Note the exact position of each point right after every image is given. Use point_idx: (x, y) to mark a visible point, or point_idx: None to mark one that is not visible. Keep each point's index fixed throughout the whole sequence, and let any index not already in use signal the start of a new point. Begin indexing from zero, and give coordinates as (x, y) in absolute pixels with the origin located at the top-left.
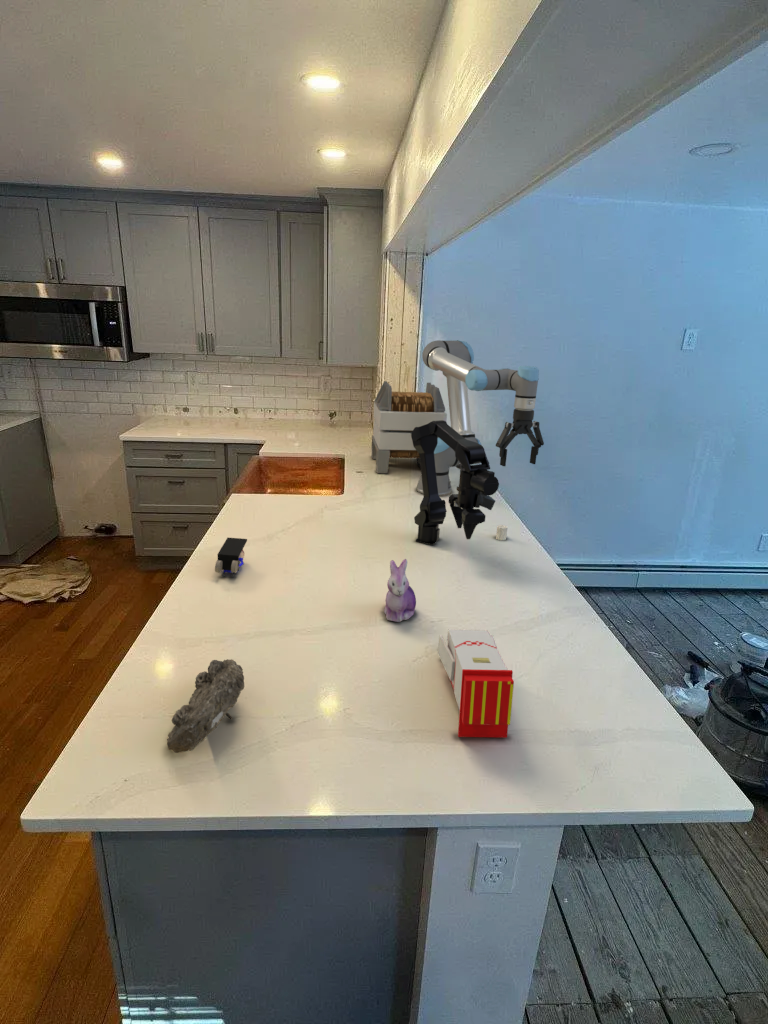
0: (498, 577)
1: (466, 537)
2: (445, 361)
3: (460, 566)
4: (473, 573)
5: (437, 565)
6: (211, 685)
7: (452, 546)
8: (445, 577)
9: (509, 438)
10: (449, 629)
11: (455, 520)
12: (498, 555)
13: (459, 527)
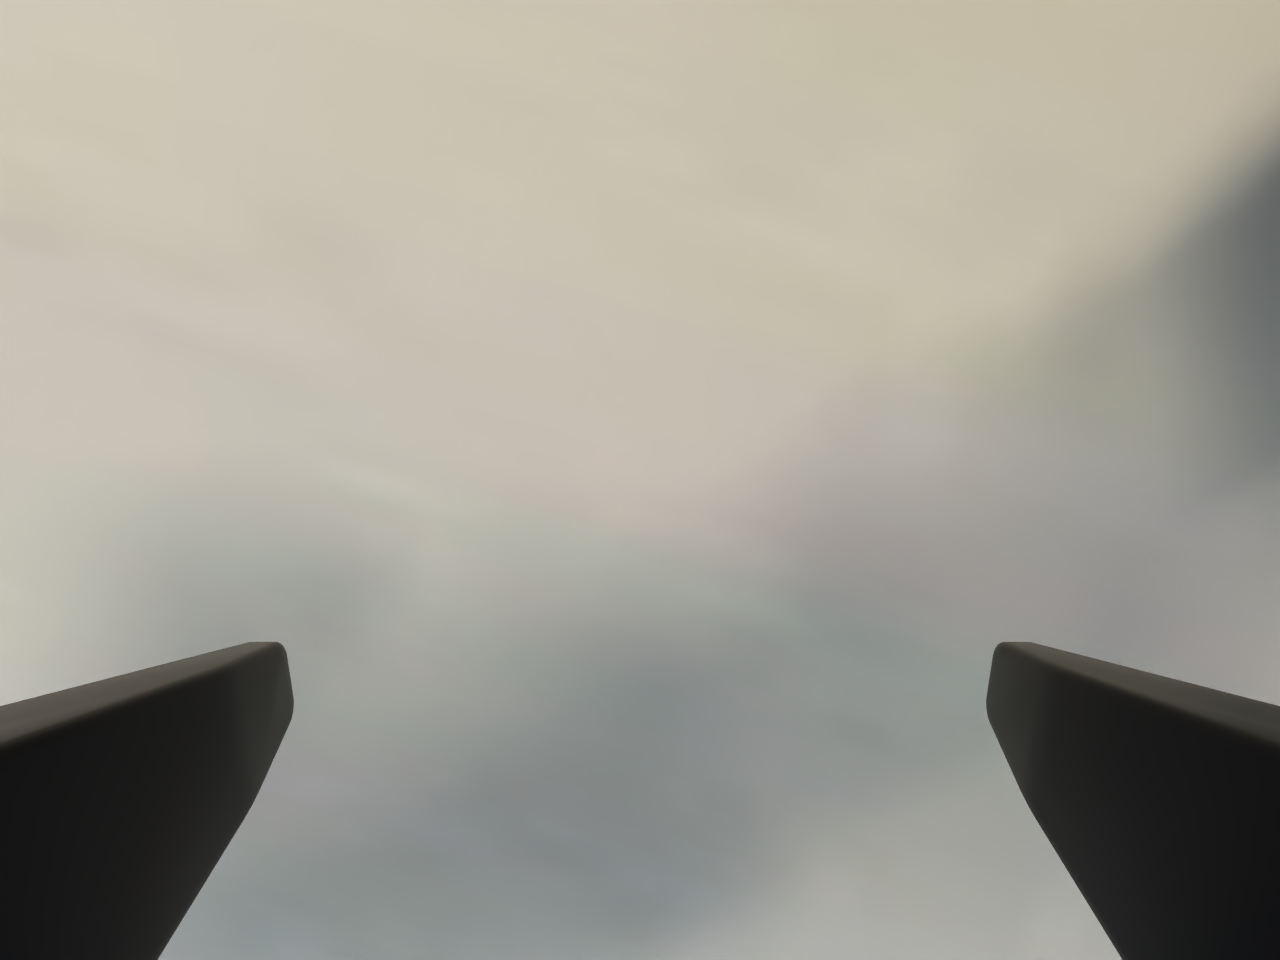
0: None
1: (206, 655)
2: None
3: (495, 393)
4: (280, 499)
5: (540, 43)
6: None
7: (1172, 473)
8: (117, 58)
9: None
10: None
11: (1161, 689)
12: (781, 916)
13: (998, 683)
